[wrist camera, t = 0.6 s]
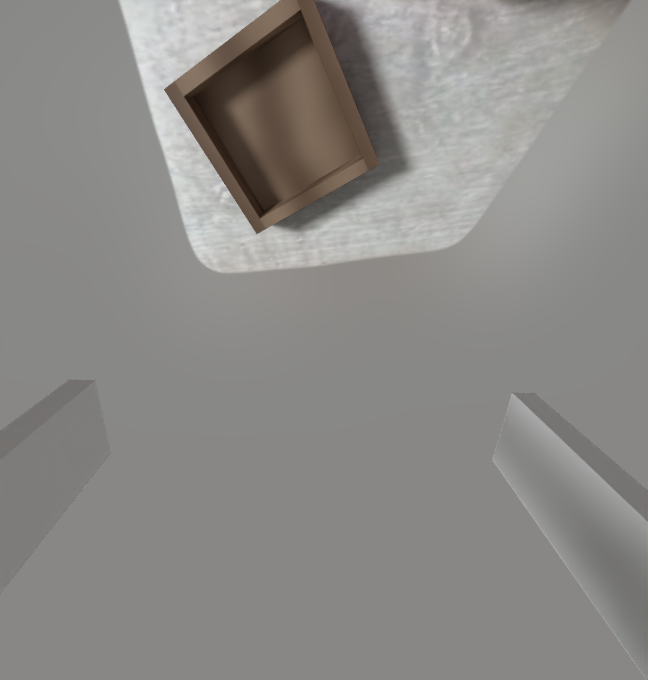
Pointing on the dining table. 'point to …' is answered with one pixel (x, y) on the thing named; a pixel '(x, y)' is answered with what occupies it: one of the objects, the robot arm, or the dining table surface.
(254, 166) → the holder tray
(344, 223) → the dining table surface
